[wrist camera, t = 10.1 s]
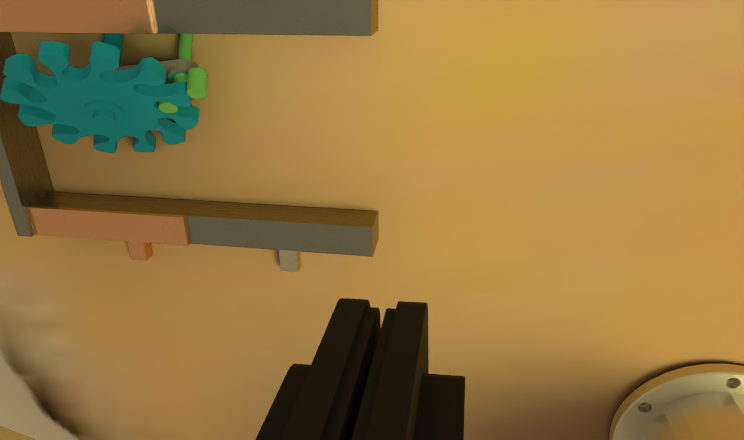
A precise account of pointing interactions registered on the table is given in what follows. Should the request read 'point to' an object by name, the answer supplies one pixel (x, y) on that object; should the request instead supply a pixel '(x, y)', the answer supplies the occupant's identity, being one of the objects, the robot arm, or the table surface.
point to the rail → (159, 215)
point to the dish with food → (12, 435)
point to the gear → (107, 94)
